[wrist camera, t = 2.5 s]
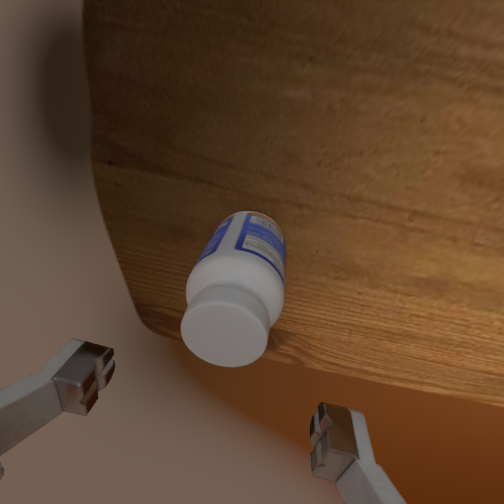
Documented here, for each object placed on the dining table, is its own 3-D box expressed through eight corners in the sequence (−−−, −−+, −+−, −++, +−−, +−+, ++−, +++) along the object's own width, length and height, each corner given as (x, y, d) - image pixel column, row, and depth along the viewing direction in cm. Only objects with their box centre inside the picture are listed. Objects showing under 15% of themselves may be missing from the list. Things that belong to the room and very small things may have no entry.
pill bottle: (226, 275, 22) (187, 381, 14) (206, 215, 20) (143, 298, 11) (291, 266, 21) (292, 377, 12) (279, 201, 18) (269, 283, 10)
